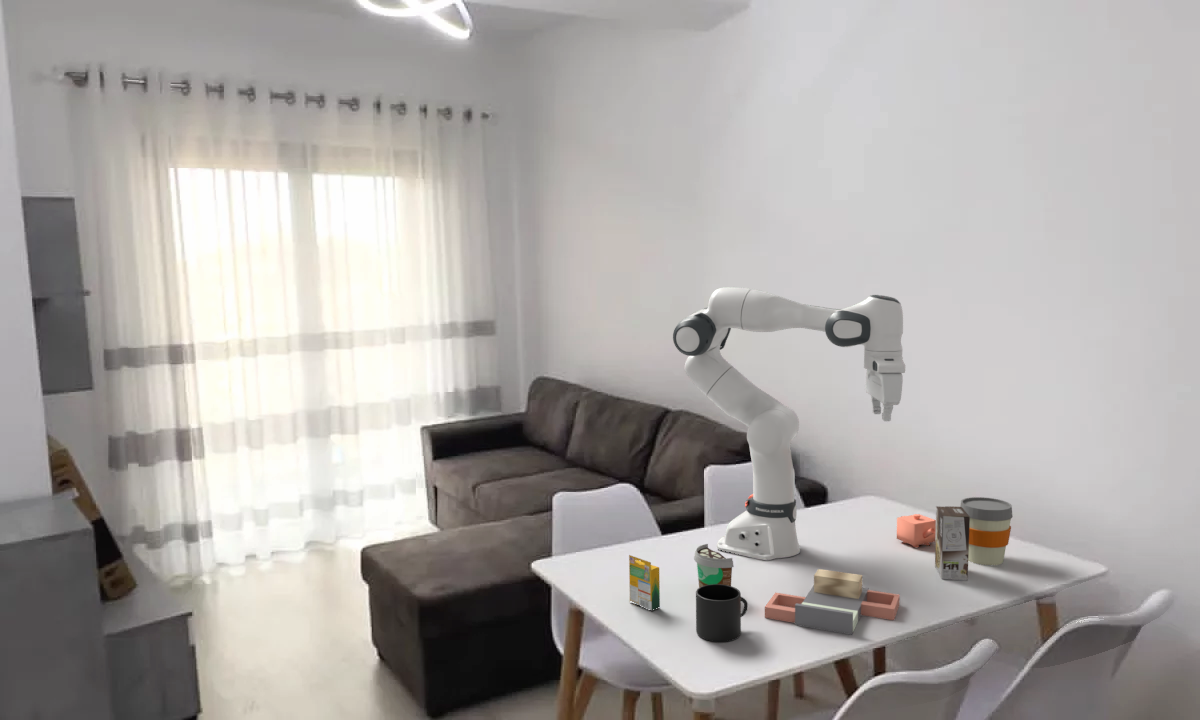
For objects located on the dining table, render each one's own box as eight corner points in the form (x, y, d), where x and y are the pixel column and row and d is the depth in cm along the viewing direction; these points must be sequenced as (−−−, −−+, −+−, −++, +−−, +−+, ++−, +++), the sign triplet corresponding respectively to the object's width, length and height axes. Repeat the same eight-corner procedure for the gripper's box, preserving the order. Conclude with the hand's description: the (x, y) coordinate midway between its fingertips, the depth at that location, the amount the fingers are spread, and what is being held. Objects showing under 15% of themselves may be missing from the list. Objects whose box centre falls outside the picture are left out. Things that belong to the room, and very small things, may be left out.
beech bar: (813, 592, 194) (814, 575, 194) (818, 585, 198) (818, 568, 198) (858, 598, 190) (858, 581, 189) (862, 591, 194) (862, 575, 193)
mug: (759, 635, 178) (759, 594, 177) (710, 646, 173) (710, 604, 172) (735, 618, 187) (735, 579, 186) (688, 628, 182) (687, 588, 181)
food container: (684, 586, 206) (684, 546, 205) (706, 582, 208) (706, 543, 207) (711, 604, 195) (710, 562, 193) (733, 599, 197) (733, 558, 196)
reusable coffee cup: (948, 558, 221) (949, 502, 219) (974, 548, 228) (976, 494, 227) (994, 571, 211) (996, 513, 209) (1020, 560, 218) (1022, 504, 217)
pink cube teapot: (922, 553, 226) (923, 523, 225) (891, 540, 237) (891, 511, 236) (945, 548, 229) (945, 519, 228) (913, 536, 240) (913, 508, 239)
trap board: (763, 619, 186) (763, 599, 185) (787, 586, 204) (787, 568, 204) (886, 640, 174) (887, 619, 174) (900, 603, 193) (900, 584, 192)
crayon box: (660, 608, 193) (659, 559, 192) (651, 612, 191) (650, 562, 190) (638, 599, 198) (637, 551, 197) (629, 602, 197) (628, 554, 195)
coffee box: (968, 581, 205) (970, 516, 204) (940, 579, 207) (942, 515, 205) (960, 567, 214) (962, 506, 212) (934, 566, 216) (935, 505, 214)
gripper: (860, 356, 217) (858, 409, 218) (879, 366, 197) (878, 424, 198) (885, 356, 216) (883, 410, 218) (907, 366, 196) (905, 425, 198)
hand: (881, 417), depth 208 cm, fingers open, 8 cm apart
